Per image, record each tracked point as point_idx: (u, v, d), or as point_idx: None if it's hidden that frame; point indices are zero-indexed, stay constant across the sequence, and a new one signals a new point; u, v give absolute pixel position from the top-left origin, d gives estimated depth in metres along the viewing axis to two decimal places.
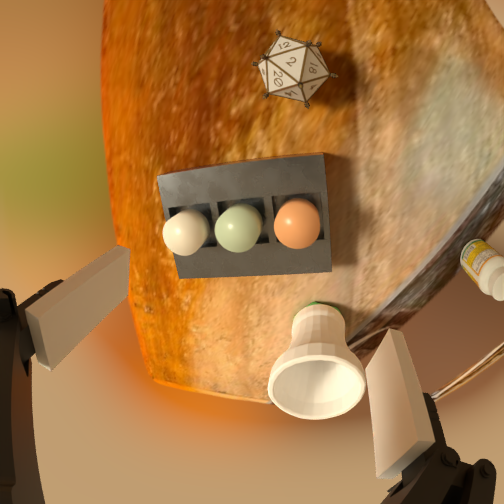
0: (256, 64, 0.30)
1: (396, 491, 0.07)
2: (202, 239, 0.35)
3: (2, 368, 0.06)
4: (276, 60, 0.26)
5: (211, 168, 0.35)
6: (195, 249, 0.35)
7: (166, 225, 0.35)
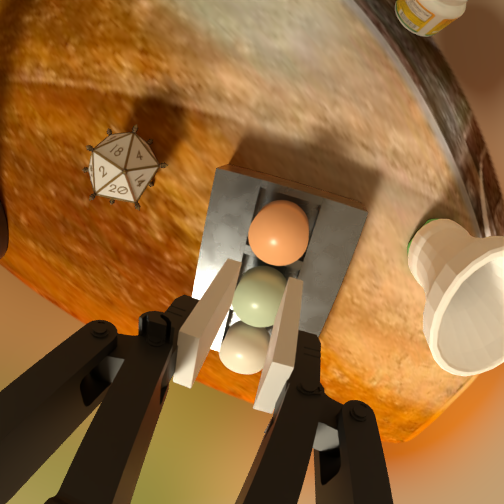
0: (112, 199, 0.31)
1: (269, 431, 0.09)
2: (255, 339, 0.29)
3: (137, 397, 0.07)
4: (98, 185, 0.26)
5: (195, 289, 0.32)
6: (262, 352, 0.29)
7: (225, 363, 0.30)
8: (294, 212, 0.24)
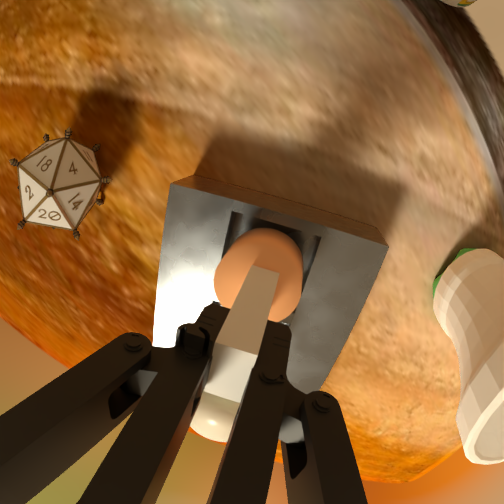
0: None
1: None
2: (231, 408, 0.21)
3: (170, 410, 0.07)
4: (26, 210, 0.18)
5: (155, 339, 0.24)
6: None
7: (196, 429, 0.22)
8: (280, 251, 0.16)
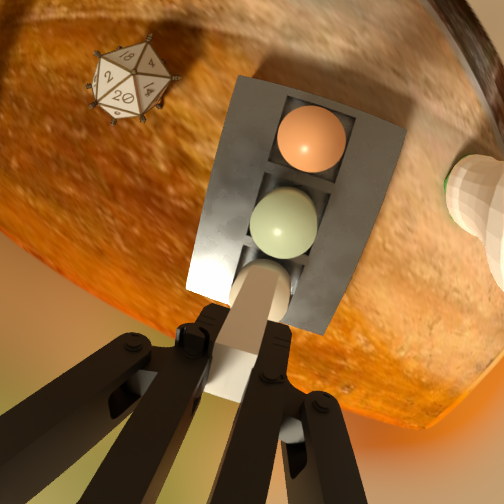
0: (114, 120, 0.25)
1: None
2: None
3: (170, 410, 0.07)
4: (101, 92, 0.21)
5: (202, 220, 0.27)
6: (283, 294, 0.24)
7: None
8: (330, 112, 0.19)
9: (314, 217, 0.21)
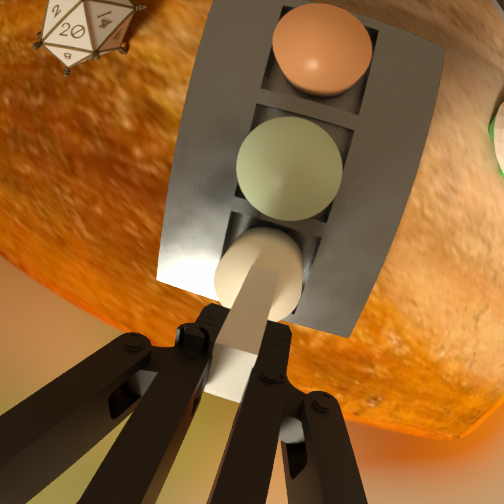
0: (67, 69, 0.17)
1: None
2: (282, 249, 0.16)
3: (170, 410, 0.07)
4: (47, 29, 0.12)
5: (172, 179, 0.18)
6: (294, 273, 0.16)
7: (225, 303, 0.17)
8: (345, 12, 0.11)
9: (337, 151, 0.13)
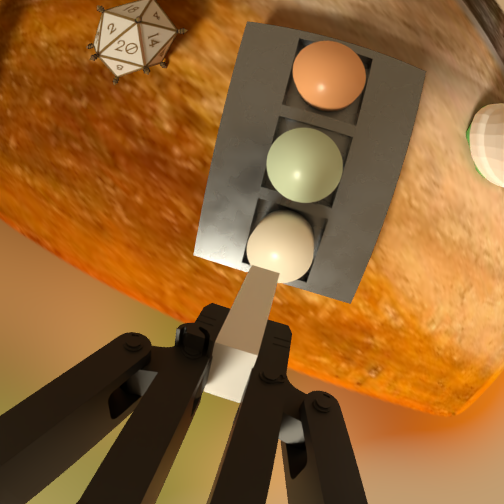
0: (116, 78, 0.23)
1: None
2: (299, 224, 0.22)
3: (169, 410, 0.07)
4: (104, 44, 0.18)
5: (211, 173, 0.24)
6: (308, 241, 0.21)
7: None
8: (346, 47, 0.16)
9: (339, 153, 0.18)
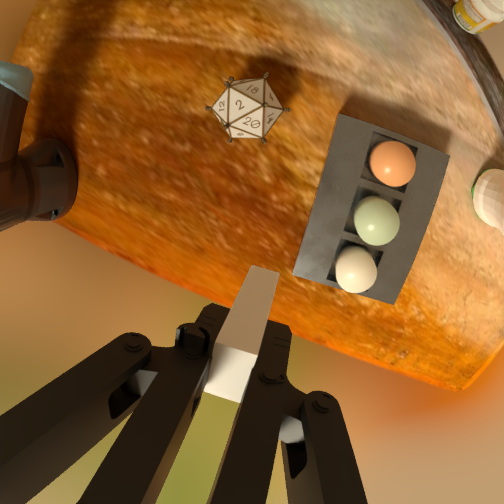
0: (231, 138, 0.35)
1: None
2: (369, 256, 0.33)
3: (169, 410, 0.07)
4: (233, 117, 0.30)
5: (310, 220, 0.35)
6: (374, 267, 0.33)
7: (340, 282, 0.34)
8: (405, 145, 0.28)
9: (398, 216, 0.29)
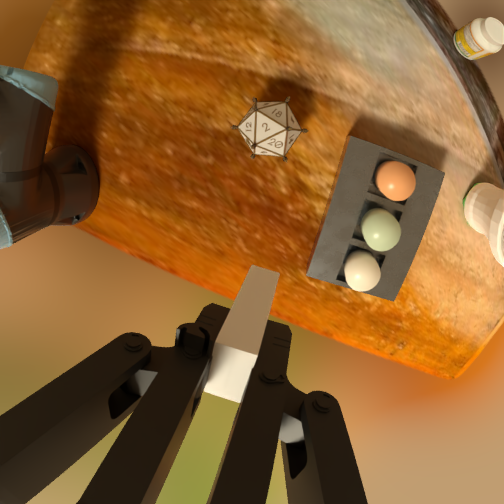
0: (254, 155, 0.39)
1: None
2: (374, 260, 0.38)
3: (169, 410, 0.07)
4: (260, 138, 0.34)
5: (323, 228, 0.40)
6: (378, 269, 0.38)
7: (349, 282, 0.40)
8: (407, 166, 0.33)
9: (399, 227, 0.35)
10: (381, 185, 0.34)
